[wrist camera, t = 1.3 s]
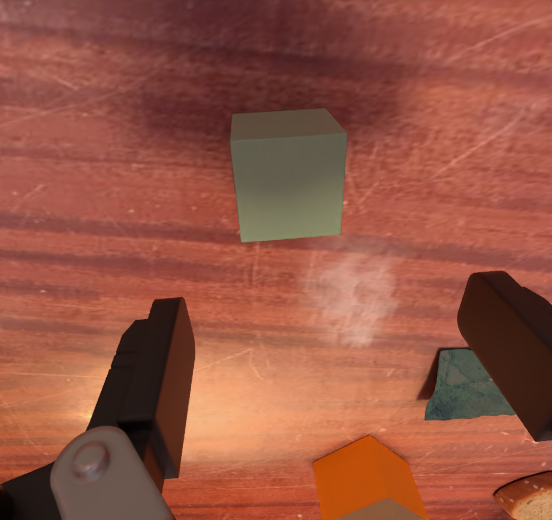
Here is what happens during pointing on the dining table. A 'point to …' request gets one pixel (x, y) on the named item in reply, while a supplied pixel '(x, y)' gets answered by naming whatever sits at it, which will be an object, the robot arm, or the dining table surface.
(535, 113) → the dining table surface
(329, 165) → the sage block
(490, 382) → the terrain model
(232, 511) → the dining table surface
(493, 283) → the robot arm
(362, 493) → the orange juice
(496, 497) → the bread slice
